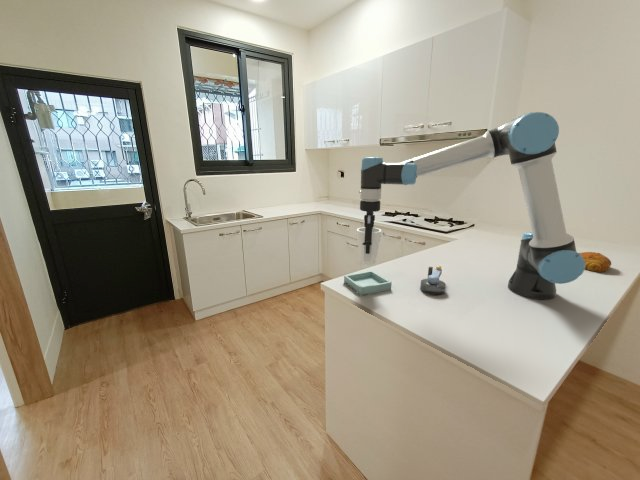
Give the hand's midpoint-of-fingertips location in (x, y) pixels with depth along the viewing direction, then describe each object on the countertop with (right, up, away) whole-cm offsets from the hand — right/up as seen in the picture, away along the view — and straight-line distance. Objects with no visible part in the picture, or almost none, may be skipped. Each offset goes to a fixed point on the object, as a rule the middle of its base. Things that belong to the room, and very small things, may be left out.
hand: (367, 256), depth 116 cm
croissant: (+108, -6, +24) cm, 111 cm away
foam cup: (0, -2, +1) cm, 2 cm away
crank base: (+25, -13, 0) cm, 28 cm away
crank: (+27, -9, +2) cm, 29 cm away
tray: (0, -12, +3) cm, 12 cm away
